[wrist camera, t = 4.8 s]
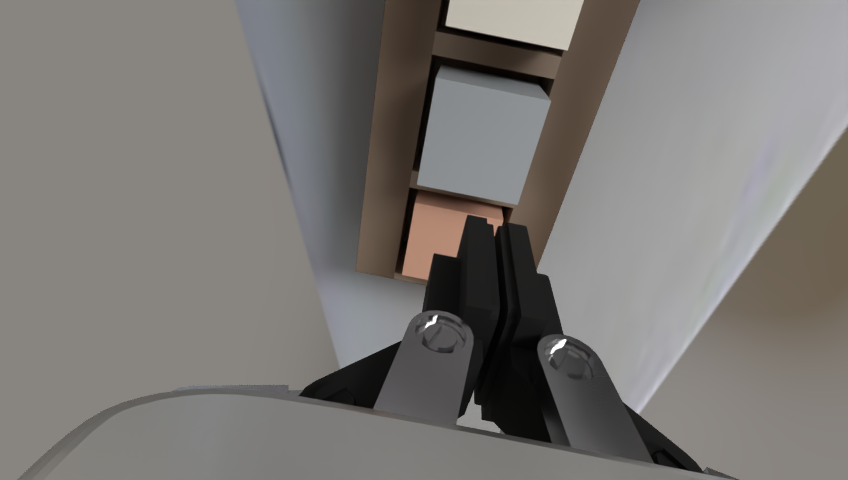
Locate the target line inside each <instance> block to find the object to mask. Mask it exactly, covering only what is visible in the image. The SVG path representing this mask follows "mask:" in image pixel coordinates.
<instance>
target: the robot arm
mask: <svg viewBox="0 0 848 480" xmlns="http://www.w3.org/2000/svg"><path fill="white" fill-rule="evenodd" d="M288 389H289V386H288V385H239V386H189V387H183V388H178V389H176V390H174V391H171V392H167V393H159V394H154V395H149V396H145V397H141V398H137V399H134V400H130V401H127V402H123V403H120V404H118V405H116V406H114V407H111V408H109V409H106V410H104V411H102V412H100V413H98V414H97V415H95V416H93V417H92V418H90V419H88V420H86V421H85V422H84V423H82V424H81V425H80V426H78V427H77V428H75V429H74V430H73V431H71V432H70V433H69V434H67V435H66V436H65V437H64V438H63V439H61V440H60V441H59V442H58V443H57V444H55V445H54V446H53V447H52V448H51V449H50V450H49V451H48V452H46V453H45V454H44V455H43V456H42V457H41V458H40V459H39V460H38V461H36V462H35V463H34V464H33V465H32V466H31V467H30V468H29V469H28V470H27V471H26V472H25V473H24V474H23V475H22V476H21V477H20V478H19V479H18V480H739V479H736V478H734V477H731V476H729V475H726V474H723V473H721V472H718V471H716V470H713V469H711V468H708V467H707V468H706V469H705V470H704V471H702V470H701V468H700V467H699V466H698V465H697V463H696V462H695V461H694V460H693V459H692V458H691V457H690V456H688V455H687V454H686V453H685V452H684V451H683V450H681V449H680V448H679V447H678V446H677V445H675V444H674V443H673V442H672V441H670V440H669V439H667V437H665V436H664V435H663V434H662V433H660V432H659V431H658V430H657V429H655V428H654V427H653V426H652V425H650V424H649V423H648V422H647V421H646V420H644V419H643V418H642V417H641V416H639V415H638V414H637V413H636V412H634V411H633V410H632V409H631V408H629V407H628V406H627V405H626V404H624V403H623V402H622V400H621V398H620V396H619V394H618V392H617V390H616V388H615V386H614V384H613V383H612V381H611V379H610V377H609V375H608V373H607V371H606V369H605V367H604V365H603V363H602V361H601V360H600V358H599V357H598V355H597V354H596V353H595V352H594V351H593V350H592V349H591V348H590V347H589V346H587V345H586V344H584V343H583V342H581V341H580V340H577V339H575V338H573V337H570V336H566V335H564V334H563V331H562V327H561V323H560V319H559V315H558V311H557V307H556V304H555V300H554V296H553V292H552V288H551V284H550V280H549V278H548V276H547V275H544V274H538V273H537V270H536V266H535V261H534V257H533V252H532V248H531V243H530V239H529V234H528V230H527V227H526V226H524V225H519V224H514V223H509V222H507V223H506V224H505V226H504V227H503V226H498V227H497V230H496V233H495V236H494V227H493V224H488V223H487V218H483V217H478V216H473V215H467V218H466V221H465V225H464V229H463V233H462V237H461V241H460V245H459V249H458V253H457V257H452V256H447V255H442V254H436V253H434V254H433V258H432V263H431V268H430V272H429V277H428V282H427V287H426V292H425V298H424V303H423V310H422V313H419V314H418V315H416V316H415V317H413V319H412V320H411V322H410V323H409V325H408V328H407V330H406V332H405V335H404V337H403V339H402V341H400V342H398V343H395V344H393V345H391V346H389V347H387V348H385V349H383V350H381V351H378V352H376V353H374V354H372V355H370V356H368V357H366V358H363V359H361V360H359V361H357V362H355V363H353V364H351V365H348V366H346V367H344V368H342V369H340V370H338V371H336V372H334V373H332V374H329V375H327V376H325V377H323V378H321V379H319V380H316V381H315V382H313V383H312V384H310V385H308V386H307V387H306V388H305V389H304V390H292V391H291V390H288ZM473 391H474V402H475V404H476V405H481V412H482V420H486V421H491V422H494V423H495V424H496V425H497V426H498V427H499V428H500V429H501V431H500V433H495V432H490V431H485V430H480V429H475V428H470V427H464V426H459V425H456V423H457V419H458V418H460V417H461V416H463V415H464V414H465V411H466V409H467V406H468V403H469V402H470V399H471V396H472V394H473Z"/></svg>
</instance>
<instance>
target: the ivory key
mask: <svg viewBox="0 0 848 480" xmlns="http://www.w3.org/2000/svg"><path fill="white" fill-rule="evenodd" d="M583 2H584V0H450V3H449V8H448V14H447V20H446V25H445V26H450V27H454V28H459V29H464V30H469V31H474V32H479V33H484V34H489V35H494V36H499V37H504V38H508V39H513V40H518V41H523V42H528V43H533V44H538V45H543V46H548V47H553V48H557V49H562V50H567V51H568V48H569V45H570V42H571V39H572V36H573V33H574V29H575V26H576V23H577V20H578V17H579V14H580V11H581V8H582V5H583Z"/></svg>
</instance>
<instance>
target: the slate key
mask: <svg viewBox="0 0 848 480" xmlns="http://www.w3.org/2000/svg"><path fill="white" fill-rule="evenodd" d="M550 103H551V100H550V99H549V97H548V96H547V95H546V94H545V92H544V91H543V90H542V88H541V87H540V86H539V85H538V84H536V83H531V82H526V81H521V80H516V79H512V78H507V77H502V76H497V75H492V74H487V73H482V72H477V71H472V70H467V69H462V68H457V67H452V66H448V65H443V64H441V67H440V69H439V72H438V74H437V77H436V81H435V86H434V92H433V97H432V103H431V109H430V114H429V120H428V125H427V131H426V136H425V142H424V148H423V153H422V159H421V164H420V170H419V175H418V181H417V185H420V186H425V187H430V188H435V189H440V190H445V191H450V192H455V193H460V194H465V195H470V196H475V197H480V198H485V199H490V200H495V201H500V202H505V203H510V204H515V205H518V202H519V199H520V196H521V193H522V190H523V187H524V184H525V181H526V178H527V174H528V171H529V168H530V165H531V162H532V159H533V156H534V153H535V150H536V147H537V144H538V141H539V137H540V134H541V131H542V128H543V125H544V122H545V119H546V116H547V113H548V110H549V107H550Z"/></svg>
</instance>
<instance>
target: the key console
mask: <svg viewBox="0 0 848 480" xmlns="http://www.w3.org/2000/svg"><path fill="white" fill-rule="evenodd" d="M639 2H640V0H584V2H583V5H582V8H581V11H580V14H579V17H578V20H577V23H576V26H575V29H574V33H573V36H572V39H571V42H570V45H569V48H568V51H567V50H562V49H557V48H553V47H548V46H543V45H538V44H533V43H528V42H523V41H518V40H513V39H508V38H504V37H499V36H494V35H489V34H484V33H479V32H474V31H469V30H464V29H459V28H454V27H450V26H445V25H446V20H447V14H448V8H449V3H450V0H385V8H384V17H383V26H382V35H381V44H380V53H379V62H378V71H377V80H376V90H375V99H374V108H373V117H372V126H371V135H370V144H369V153H368V162H367V171H366V180H365V189H364V199H363V208H362V217H361V226H360V235H359V244H358V253H357V262H356V271H357V272H362V273H367V274H372V275H377V276H382V277H387V278H392V279H397V280H402V281H407V282H412V283H417V284H422V285H427V282H428V280H425V279H420V278H415V277H410V276H405V275H402V272H403V266H404V261H405V255H406V250H407V244H408V239H409V233H410V228H411V222H412V217H413V211H414V206H415V201H416V197H417V193H418V189H421V190H426V191H431V192H436V193H441V194H446V195H451V196H456V197H461V198H466V199H471V200H476V201H481V202H486V203H491V204H496V205H501V207H502V214H503V223H502V226H503V227H504V226H505V224H506V223H507V222H509V223H514V224H519V225H524V226H526V227H527V230H528V234H529V239H530V243H531V248H532V252H533V257H534V261H535V266H536V270H537V267H538V265H539V262H540V259H541V257H542V254H543V252H544V249H545V246H546V244H547V241H548V239H549V236H550V233H551V231H552V228H553V226H554V223H555V220H556V218H557V215H558V213H559V210H560V207H561V205H562V202H563V200H564V197H565V194H566V192H567V189H568V187H569V184H570V181H571V179H572V176H573V174H574V171H575V168H576V166H577V163H578V161H579V158H580V155H581V153H582V150H583V148H584V145H585V142H586V140H587V137H588V135H589V132H590V129H591V127H592V124H593V122H594V119H595V116H596V114H597V111H598V109H599V106H600V103H601V101H602V98H603V96H604V93H605V90H606V88H607V85H608V83H609V80H610V77H611V75H612V72H613V70H614V67H615V64H616V62H617V59H618V57H619V54H620V51H621V49H622V46H623V43H624V41H625V38H626V36H627V33H628V30H629V28H630V25H631V23H632V20H633V17H634V15H635V12H636V10H637V7H638V4H639ZM441 64H443V65H448V66H452V67H457V68H462V69H467V70H472V71H477V72H482V73H487V74H492V75H497V76H502V77H507V78H512V79H516V80H521V81H526V82H531V83H536V84H538V85H539V86H540V87H541V88H542V90H543V91H544V92H545V94H546V95H547V96H548V97H549V99H550V100H551V103H550V107H549V110H548V113H547V116H546V119H545V122H544V125H543V128H542V131H541V134H540V137H539V141H538V144H537V147H536V150H535V153H534V156H533V159H532V162H531V165H530V168H529V171H528V174H527V178H526V181H525V184H524V187H523V190H522V193H521V196H520V199H519V202H518V205H515V204H510V203H505V202H500V201H495V200H490V199H485V198H480V197H475V196H470V195H465V194H460V193H455V192H450V191H445V190H440V189H435V188H430V187H425V186H420V185H417V181H418V175H419V170H420V164H421V159H422V153H423V148H424V142H425V136H426V131H427V125H428V120H429V114H430V109H431V103H432V97H433V92H434V86H435V81H436V77H437V74H438V72H439V69H440V67H441Z"/></svg>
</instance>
